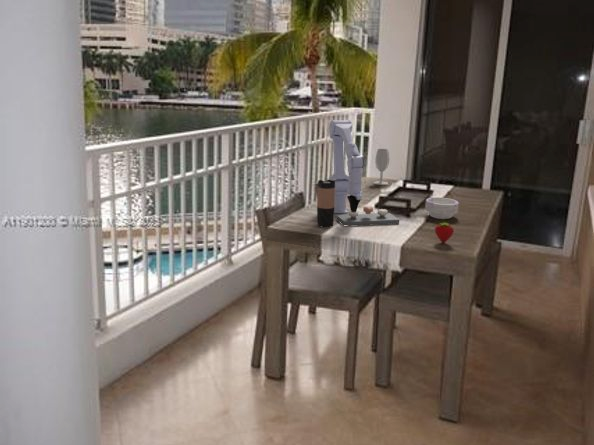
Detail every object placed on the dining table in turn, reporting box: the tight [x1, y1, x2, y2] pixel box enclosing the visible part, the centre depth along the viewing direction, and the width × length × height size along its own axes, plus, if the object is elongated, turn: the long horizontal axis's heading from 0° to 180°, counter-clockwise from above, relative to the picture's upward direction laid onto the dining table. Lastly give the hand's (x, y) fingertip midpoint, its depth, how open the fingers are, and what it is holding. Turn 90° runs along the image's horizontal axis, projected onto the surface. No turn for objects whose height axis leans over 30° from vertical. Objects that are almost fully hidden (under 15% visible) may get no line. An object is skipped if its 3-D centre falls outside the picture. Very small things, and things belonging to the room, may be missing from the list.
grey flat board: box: [336, 212, 400, 226], centre depth 267 cm, size 26×12×2 cm, turn 103°
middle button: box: [362, 205, 374, 214], centre depth 266 cm, size 4×4×3 cm
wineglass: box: [373, 148, 390, 186], centre depth 347 cm, size 9×9×21 cm
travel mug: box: [316, 179, 335, 228], centre depth 258 cm, size 8×8×20 cm
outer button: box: [377, 208, 388, 217], centre depth 268 cm, size 4×4×3 cm
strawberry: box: [434, 220, 454, 244], centre depth 237 cm, size 6×8×10 cm
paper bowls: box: [424, 196, 460, 220], centre depth 278 cm, size 15×15×8 cm
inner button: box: [348, 210, 359, 218], centre depth 265 cm, size 4×4×3 cm
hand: (353, 211), depth 265 cm, fingers closed, pressing on inner button
